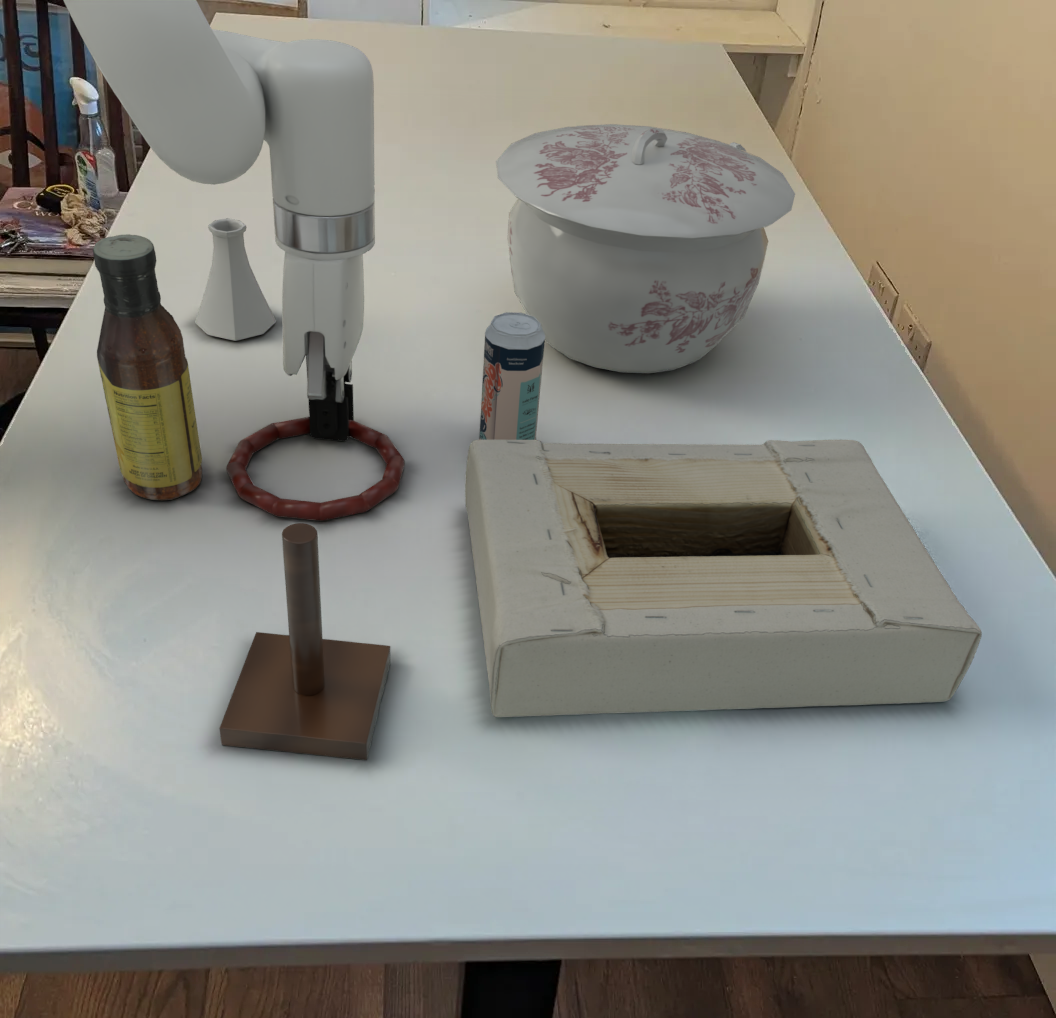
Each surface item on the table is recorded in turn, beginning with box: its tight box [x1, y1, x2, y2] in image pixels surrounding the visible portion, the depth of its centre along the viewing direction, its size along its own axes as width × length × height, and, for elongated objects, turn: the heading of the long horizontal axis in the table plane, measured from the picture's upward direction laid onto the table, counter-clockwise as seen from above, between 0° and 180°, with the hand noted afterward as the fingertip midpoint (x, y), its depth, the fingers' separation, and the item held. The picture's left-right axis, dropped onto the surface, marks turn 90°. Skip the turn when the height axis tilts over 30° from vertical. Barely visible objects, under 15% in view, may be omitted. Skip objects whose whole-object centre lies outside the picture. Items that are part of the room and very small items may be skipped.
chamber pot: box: [495, 123, 796, 374], centre depth 112 cm, size 28×28×21 cm
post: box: [218, 522, 391, 761], centre depth 72 cm, size 9×9×14 cm
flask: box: [194, 217, 277, 342], centre depth 112 cm, size 7×7×10 cm
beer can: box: [478, 311, 546, 440], centre depth 97 cm, size 5×5×12 cm
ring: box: [226, 416, 405, 522], centre depth 96 cm, size 14×14×1 cm
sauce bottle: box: [92, 233, 203, 501], centre depth 87 cm, size 6×6×20 cm
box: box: [464, 438, 983, 718], centre depth 84 cm, size 23×8×32 cm
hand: (332, 430), depth 101 cm, fingers closed on ring, 1 cm apart
